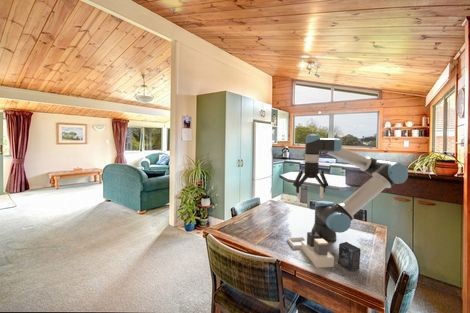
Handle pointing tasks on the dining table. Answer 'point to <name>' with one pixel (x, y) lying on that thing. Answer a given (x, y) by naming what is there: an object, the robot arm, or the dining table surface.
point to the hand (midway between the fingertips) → (310, 198)
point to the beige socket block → (317, 256)
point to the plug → (321, 246)
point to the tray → (295, 242)
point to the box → (349, 256)
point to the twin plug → (312, 237)
